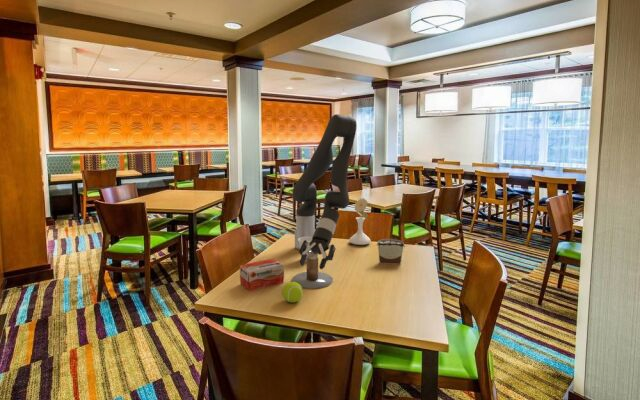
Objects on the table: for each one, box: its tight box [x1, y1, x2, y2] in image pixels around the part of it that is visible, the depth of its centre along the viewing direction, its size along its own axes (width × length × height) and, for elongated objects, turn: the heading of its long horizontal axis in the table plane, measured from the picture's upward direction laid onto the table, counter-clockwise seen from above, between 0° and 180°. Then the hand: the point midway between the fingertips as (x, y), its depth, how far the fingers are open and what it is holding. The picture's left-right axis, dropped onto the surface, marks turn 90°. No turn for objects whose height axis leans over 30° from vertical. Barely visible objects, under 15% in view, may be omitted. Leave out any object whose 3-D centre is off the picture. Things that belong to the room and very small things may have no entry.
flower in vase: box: [348, 197, 372, 246], centre depth 202 cm, size 13×11×25 cm
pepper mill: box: [306, 253, 319, 281], centre depth 152 cm, size 5×5×10 cm
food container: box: [376, 238, 405, 265], centre depth 176 cm, size 12×6×10 cm, turn 84°
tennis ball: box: [281, 281, 304, 303], centre depth 134 cm, size 7×7×7 cm
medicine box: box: [239, 258, 285, 292], centre depth 150 cm, size 15×8×8 cm, turn 125°
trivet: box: [291, 271, 333, 290], centre depth 153 cm, size 16×16×1 cm
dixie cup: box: [298, 237, 312, 263], centre depth 177 cm, size 8×8×10 cm
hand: (311, 266), depth 152 cm, fingers open, 8 cm apart
